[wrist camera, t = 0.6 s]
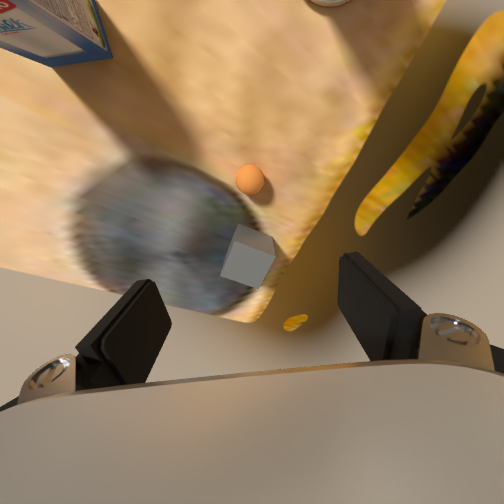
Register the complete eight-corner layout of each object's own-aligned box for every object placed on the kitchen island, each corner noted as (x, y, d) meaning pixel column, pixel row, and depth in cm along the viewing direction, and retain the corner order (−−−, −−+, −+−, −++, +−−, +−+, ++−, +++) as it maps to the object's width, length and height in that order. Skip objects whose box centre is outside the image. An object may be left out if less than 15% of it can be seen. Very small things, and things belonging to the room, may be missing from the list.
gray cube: (238, 223, 41) (234, 241, 34) (272, 236, 43) (276, 256, 35) (226, 253, 45) (220, 275, 37) (257, 265, 46) (258, 289, 38)
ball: (242, 158, 36) (241, 160, 31) (268, 170, 37) (270, 173, 32) (233, 185, 38) (230, 190, 33) (257, 195, 39) (257, 202, 34)
